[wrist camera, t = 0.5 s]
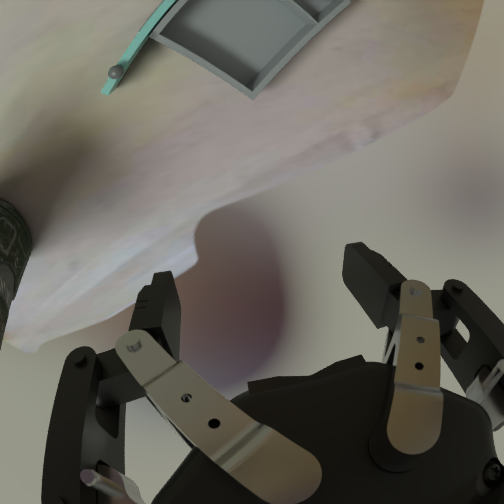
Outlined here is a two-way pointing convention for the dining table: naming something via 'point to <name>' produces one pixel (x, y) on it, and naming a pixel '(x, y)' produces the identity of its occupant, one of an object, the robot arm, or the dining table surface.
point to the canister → (11, 258)
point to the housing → (244, 35)
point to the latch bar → (136, 46)
